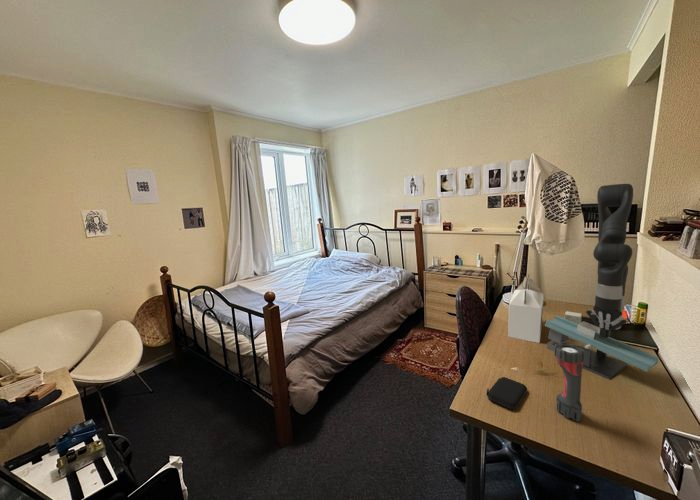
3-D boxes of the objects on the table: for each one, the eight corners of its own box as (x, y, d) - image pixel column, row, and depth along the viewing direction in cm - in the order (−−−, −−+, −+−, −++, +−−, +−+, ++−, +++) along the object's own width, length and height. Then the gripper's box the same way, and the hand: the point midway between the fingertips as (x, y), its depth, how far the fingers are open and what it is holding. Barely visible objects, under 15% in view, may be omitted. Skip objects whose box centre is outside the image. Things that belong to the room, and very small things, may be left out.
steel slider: (581, 331, 122) (583, 321, 120) (598, 338, 116) (601, 328, 115) (575, 334, 119) (577, 324, 118) (592, 342, 114) (595, 331, 113)
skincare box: (580, 337, 137) (582, 313, 135) (579, 341, 134) (581, 316, 132) (564, 333, 141) (565, 310, 139) (562, 337, 138) (564, 313, 136)
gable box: (513, 319, 160) (515, 271, 155) (542, 324, 152) (544, 273, 147) (507, 337, 142) (509, 283, 137) (539, 343, 135) (542, 286, 129)
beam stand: (560, 341, 135) (561, 325, 134) (627, 366, 114) (629, 347, 113) (541, 350, 129) (542, 334, 127) (608, 379, 108) (610, 360, 106)
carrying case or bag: (497, 379, 113) (482, 399, 103) (498, 372, 112) (482, 391, 102) (528, 391, 105) (515, 414, 95) (529, 384, 105) (515, 406, 95)
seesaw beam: (556, 330, 135) (560, 314, 133) (655, 374, 106) (662, 354, 104) (539, 338, 129) (542, 321, 127) (639, 388, 100) (646, 367, 98)
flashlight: (550, 399, 100) (554, 339, 96) (579, 407, 95) (584, 344, 91) (550, 414, 94) (554, 350, 89) (581, 423, 89) (587, 356, 85)
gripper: (636, 297, 106) (631, 341, 109) (592, 288, 117) (589, 328, 120) (626, 302, 102) (622, 347, 105) (583, 292, 114) (580, 333, 117)
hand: (604, 337), depth 113 cm, fingers closed
